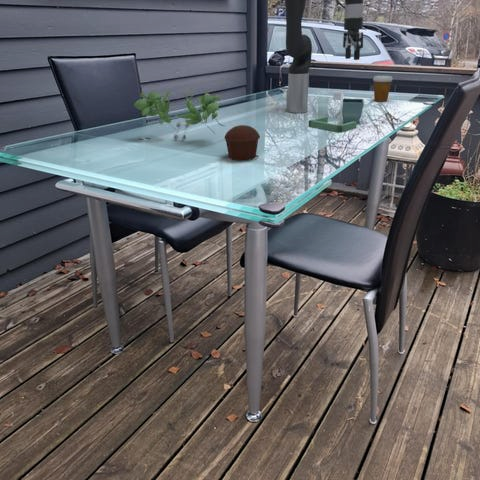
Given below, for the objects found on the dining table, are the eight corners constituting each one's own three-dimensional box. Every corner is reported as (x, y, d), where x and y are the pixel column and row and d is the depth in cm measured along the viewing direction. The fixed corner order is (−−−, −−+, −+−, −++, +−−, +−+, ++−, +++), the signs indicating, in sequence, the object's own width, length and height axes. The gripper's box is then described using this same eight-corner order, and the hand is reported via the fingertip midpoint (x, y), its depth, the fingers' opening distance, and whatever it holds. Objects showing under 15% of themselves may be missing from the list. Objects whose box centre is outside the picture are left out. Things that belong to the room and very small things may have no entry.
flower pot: (362, 124, 189) (364, 102, 185) (340, 124, 191) (341, 102, 187) (361, 120, 197) (363, 98, 193) (340, 120, 198) (342, 98, 195)
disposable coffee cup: (392, 100, 238) (395, 75, 232) (387, 103, 231) (389, 78, 225) (374, 99, 242) (376, 75, 237) (368, 101, 235) (370, 77, 230)
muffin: (232, 163, 145) (231, 132, 141) (219, 155, 154) (218, 125, 150) (266, 158, 149) (266, 127, 145) (251, 150, 158) (251, 121, 154)
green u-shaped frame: (308, 126, 189) (309, 89, 182) (324, 122, 195) (326, 86, 188) (339, 132, 178) (342, 93, 171) (356, 128, 184) (359, 90, 178)
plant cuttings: (153, 149, 189) (124, 126, 168) (163, 111, 191) (135, 83, 171) (232, 156, 177) (210, 131, 156) (241, 115, 179) (221, 85, 159)
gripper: (338, 17, 193) (337, 59, 200) (352, 16, 180) (351, 61, 187) (354, 16, 194) (353, 57, 201) (370, 15, 182) (368, 59, 188)
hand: (352, 59), depth 194 cm, fingers open, 8 cm apart
